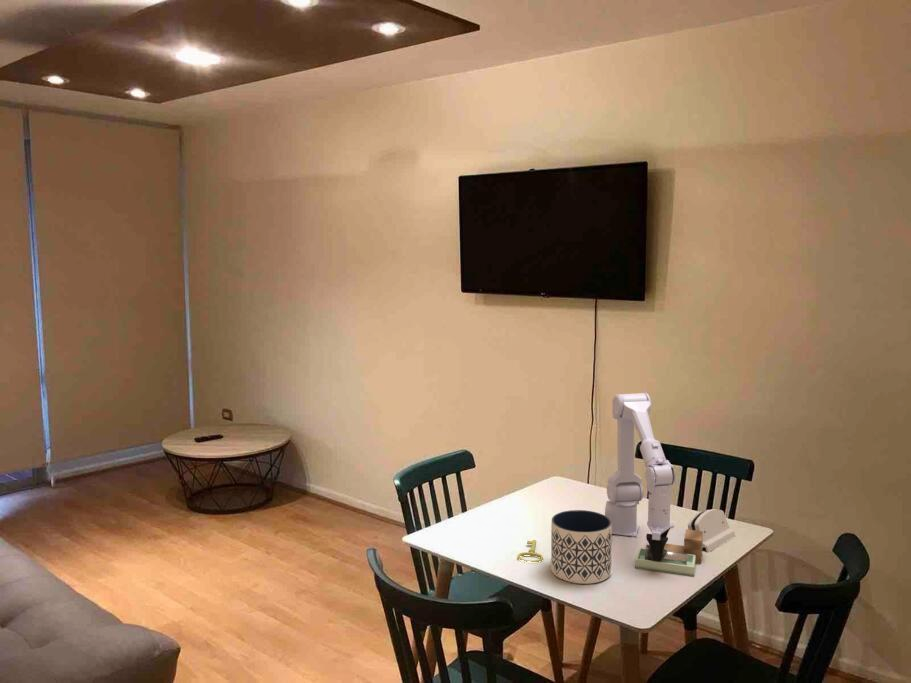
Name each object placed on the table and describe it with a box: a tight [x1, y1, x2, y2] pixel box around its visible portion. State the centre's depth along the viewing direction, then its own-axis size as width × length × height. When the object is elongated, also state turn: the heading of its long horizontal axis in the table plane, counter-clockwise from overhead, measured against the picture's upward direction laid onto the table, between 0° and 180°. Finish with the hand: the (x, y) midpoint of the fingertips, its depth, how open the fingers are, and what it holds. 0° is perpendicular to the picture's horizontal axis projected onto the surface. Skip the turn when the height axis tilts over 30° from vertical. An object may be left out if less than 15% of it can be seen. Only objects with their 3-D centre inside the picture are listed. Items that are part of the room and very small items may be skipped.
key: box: [516, 539, 544, 562], centre depth 207 cm, size 7×12×2 cm, turn 5°
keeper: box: [664, 529, 703, 565], centre depth 204 cm, size 11×7×7 cm, turn 69°
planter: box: [550, 509, 613, 585], centre depth 195 cm, size 16×16×14 cm
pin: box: [645, 544, 688, 565], centre depth 198 cm, size 11×5×5 cm, turn 69°
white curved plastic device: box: [687, 508, 736, 553], centre depth 214 cm, size 17×5×10 cm, turn 132°
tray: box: [634, 547, 697, 577], centre depth 198 cm, size 15×8×2 cm, turn 69°
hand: (658, 555), depth 199 cm, fingers open, 6 cm apart
